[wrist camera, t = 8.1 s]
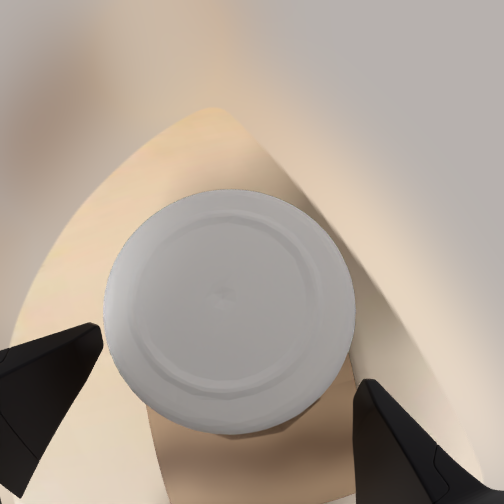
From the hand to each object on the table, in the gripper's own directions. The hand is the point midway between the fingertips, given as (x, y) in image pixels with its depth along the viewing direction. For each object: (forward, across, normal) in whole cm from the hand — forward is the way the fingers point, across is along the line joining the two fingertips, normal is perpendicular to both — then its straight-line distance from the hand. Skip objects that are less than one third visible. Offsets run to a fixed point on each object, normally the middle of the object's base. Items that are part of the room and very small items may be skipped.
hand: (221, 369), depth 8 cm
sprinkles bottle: (+7, 0, +5) cm, 9 cm away
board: (+6, -1, +8) cm, 9 cm away
